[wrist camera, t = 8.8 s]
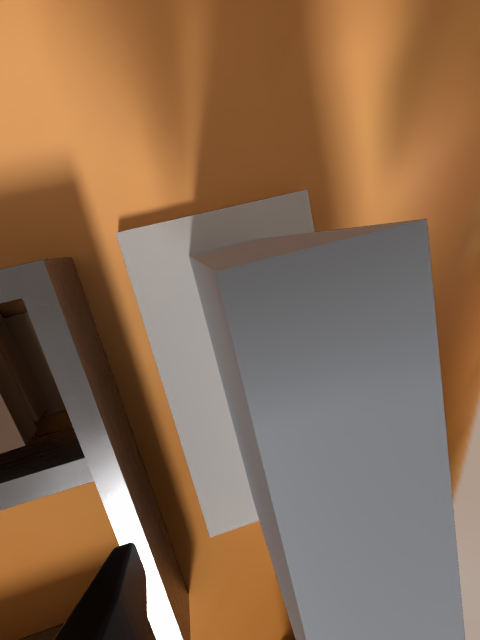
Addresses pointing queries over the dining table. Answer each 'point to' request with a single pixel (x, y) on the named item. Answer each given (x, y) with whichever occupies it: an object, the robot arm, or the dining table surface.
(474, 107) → the dining table surface
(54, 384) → the offcut bottom
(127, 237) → the mat
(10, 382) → the offcut top
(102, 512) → the dining table surface
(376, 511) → the grey rectangular block
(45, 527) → the dining table surface
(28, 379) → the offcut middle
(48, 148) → the dining table surface
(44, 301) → the rack
